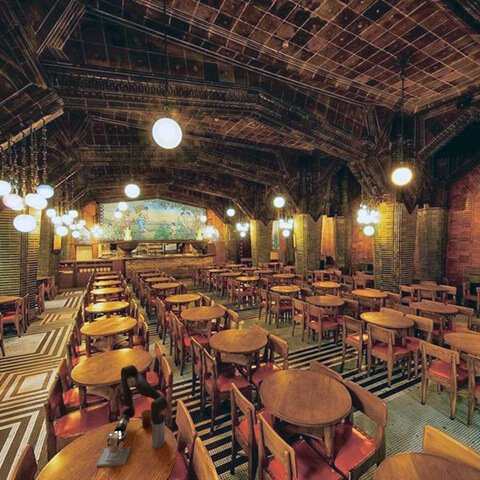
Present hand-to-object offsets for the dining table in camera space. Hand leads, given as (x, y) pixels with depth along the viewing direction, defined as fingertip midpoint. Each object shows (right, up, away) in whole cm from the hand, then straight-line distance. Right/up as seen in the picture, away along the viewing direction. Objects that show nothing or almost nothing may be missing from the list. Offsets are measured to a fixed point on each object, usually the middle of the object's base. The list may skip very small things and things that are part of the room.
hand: (113, 445), depth 187 cm
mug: (+13, -11, +36) cm, 40 cm away
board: (0, -11, +3) cm, 11 cm away
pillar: (0, -6, +3) cm, 7 cm away
